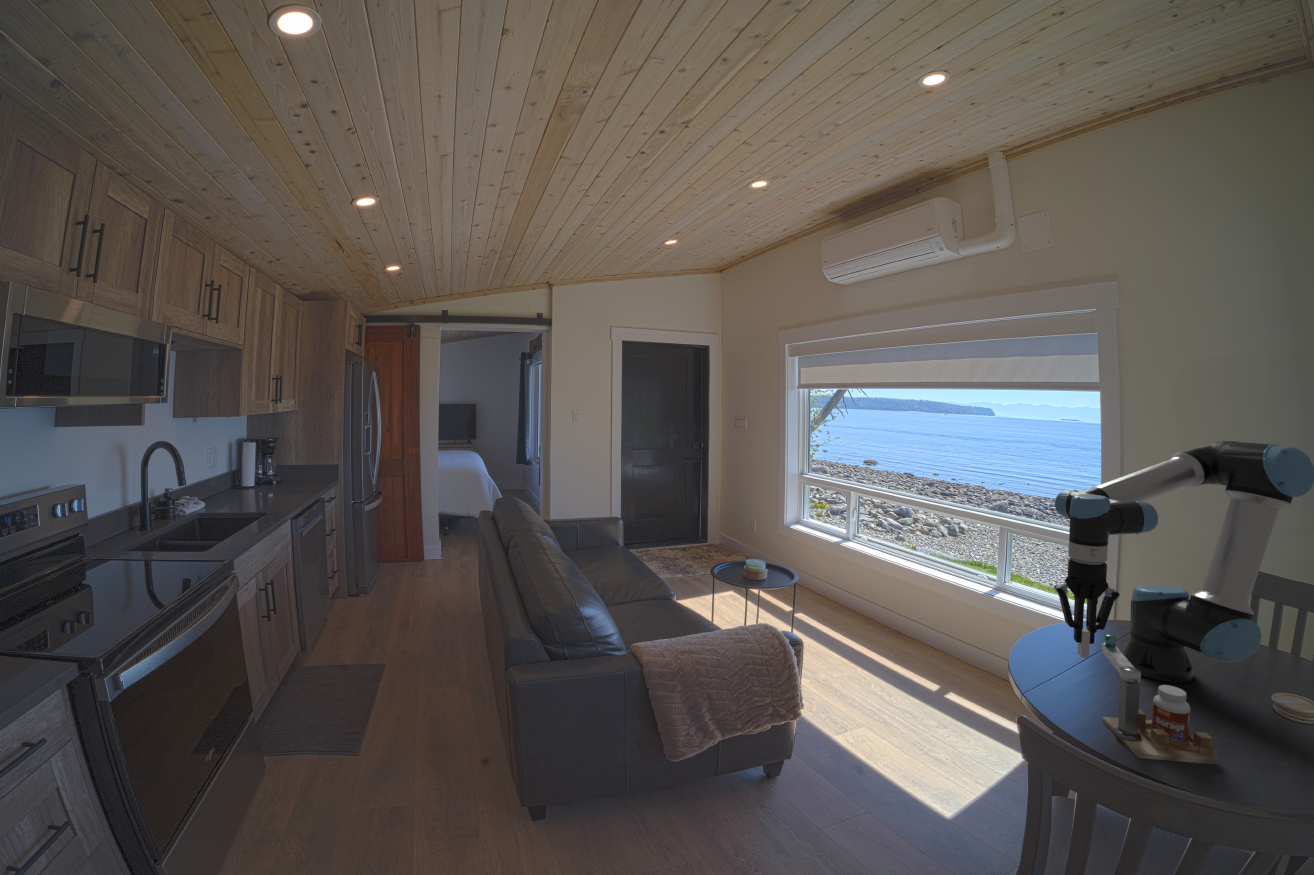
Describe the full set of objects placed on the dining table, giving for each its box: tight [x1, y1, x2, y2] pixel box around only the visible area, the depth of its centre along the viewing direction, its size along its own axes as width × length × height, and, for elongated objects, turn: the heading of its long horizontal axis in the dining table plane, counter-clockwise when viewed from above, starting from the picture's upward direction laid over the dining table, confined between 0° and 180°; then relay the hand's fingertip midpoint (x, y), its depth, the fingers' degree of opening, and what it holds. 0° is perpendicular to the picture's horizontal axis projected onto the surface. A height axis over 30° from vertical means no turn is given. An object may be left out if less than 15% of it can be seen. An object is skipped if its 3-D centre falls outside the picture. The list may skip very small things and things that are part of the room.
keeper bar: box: [1101, 633, 1142, 684], centre depth 136 cm, size 16×4×4 cm, turn 159°
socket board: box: [1102, 708, 1219, 765], centre depth 131 cm, size 15×14×4 cm
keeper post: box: [1113, 677, 1141, 741], centre depth 132 cm, size 5×5×12 cm
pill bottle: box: [1151, 684, 1191, 745], centre depth 130 cm, size 6×6×11 cm
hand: (1083, 655), depth 143 cm, fingers closed
